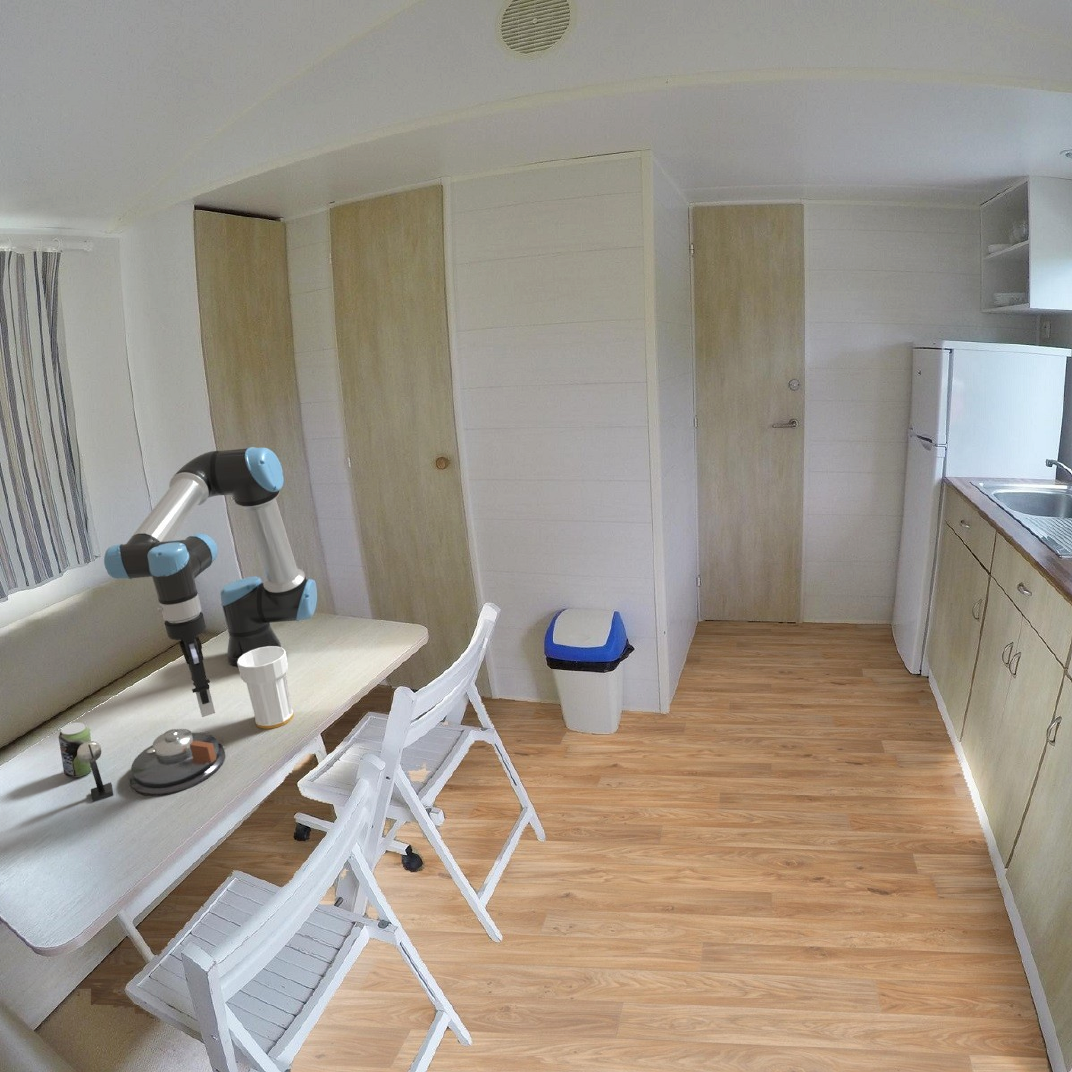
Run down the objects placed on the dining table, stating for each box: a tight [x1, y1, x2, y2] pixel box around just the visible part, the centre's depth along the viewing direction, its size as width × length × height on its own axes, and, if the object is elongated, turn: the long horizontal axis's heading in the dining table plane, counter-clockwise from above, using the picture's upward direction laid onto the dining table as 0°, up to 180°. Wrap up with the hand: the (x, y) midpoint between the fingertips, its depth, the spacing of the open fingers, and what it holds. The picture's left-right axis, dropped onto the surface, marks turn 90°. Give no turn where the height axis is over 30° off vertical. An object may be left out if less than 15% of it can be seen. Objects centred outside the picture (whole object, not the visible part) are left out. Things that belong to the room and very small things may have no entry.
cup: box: [237, 646, 294, 730], centre depth 189 cm, size 11×11×17 cm
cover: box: [152, 728, 194, 764], centre depth 173 cm, size 8×8×6 cm
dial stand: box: [77, 740, 114, 803], centre depth 165 cm, size 4×4×13 cm
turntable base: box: [128, 742, 226, 797], centre depth 174 cm, size 20×20×1 cm
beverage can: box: [58, 721, 92, 778], centre depth 174 cm, size 6×7×12 cm
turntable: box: [130, 732, 220, 788], centre depth 173 cm, size 18×20×6 cm
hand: (208, 713), depth 169 cm, fingers closed
